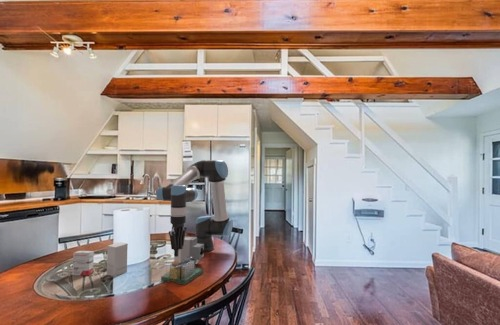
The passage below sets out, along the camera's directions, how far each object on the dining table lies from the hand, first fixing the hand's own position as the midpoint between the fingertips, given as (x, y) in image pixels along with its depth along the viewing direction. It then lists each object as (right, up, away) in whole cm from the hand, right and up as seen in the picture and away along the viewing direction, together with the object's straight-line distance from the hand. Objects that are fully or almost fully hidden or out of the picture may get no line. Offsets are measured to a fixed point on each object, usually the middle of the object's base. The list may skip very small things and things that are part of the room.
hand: (177, 262), depth 145 cm
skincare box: (-34, -9, +8) cm, 36 cm away
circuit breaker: (+3, -10, +26) cm, 28 cm away
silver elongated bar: (+2, -2, +5) cm, 6 cm away
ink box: (-52, -9, +7) cm, 53 cm away
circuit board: (+2, -9, +5) cm, 11 cm away
